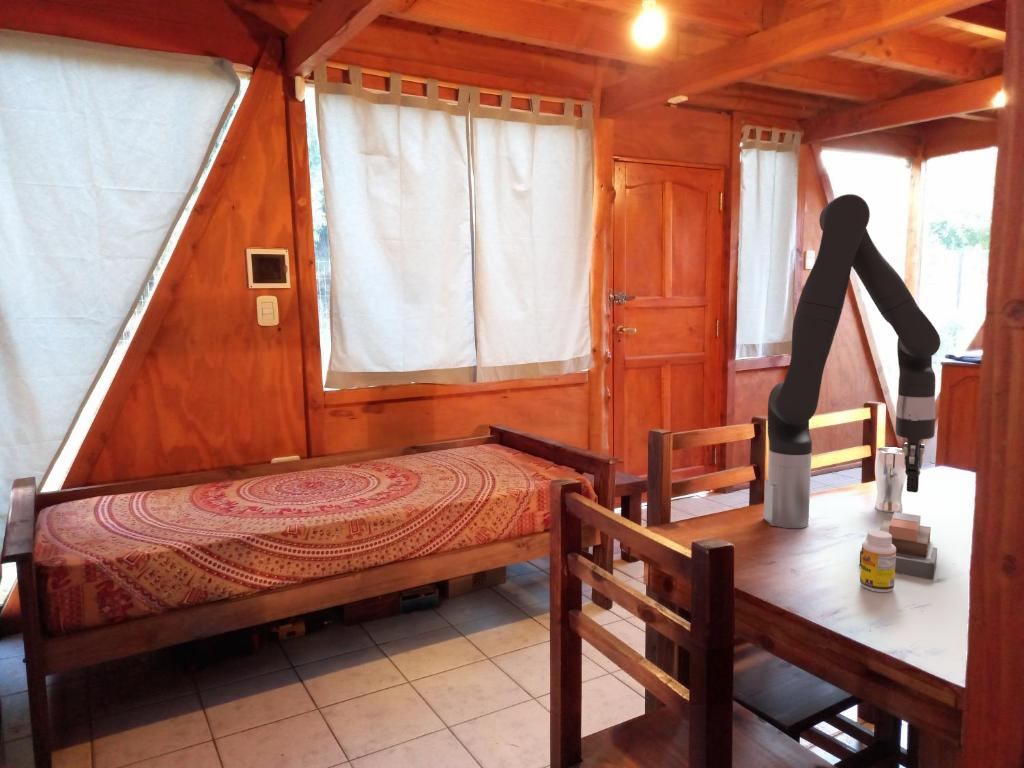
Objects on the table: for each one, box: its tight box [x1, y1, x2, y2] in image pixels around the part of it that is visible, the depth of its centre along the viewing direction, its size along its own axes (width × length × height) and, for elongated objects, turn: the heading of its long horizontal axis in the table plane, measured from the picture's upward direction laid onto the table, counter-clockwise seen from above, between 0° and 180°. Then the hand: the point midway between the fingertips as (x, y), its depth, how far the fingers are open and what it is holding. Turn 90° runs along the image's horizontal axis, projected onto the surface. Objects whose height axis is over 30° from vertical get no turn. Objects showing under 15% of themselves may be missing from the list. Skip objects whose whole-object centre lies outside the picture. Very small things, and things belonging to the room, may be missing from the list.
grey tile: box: [891, 512, 921, 532], centre depth 151 cm, size 5×5×2 cm
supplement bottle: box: [859, 529, 896, 593], centre depth 128 cm, size 6×6×10 cm
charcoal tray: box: [859, 536, 938, 580], centre depth 139 cm, size 10×13×3 cm
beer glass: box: [874, 446, 907, 514], centre depth 172 cm, size 7×7×15 cm
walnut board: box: [879, 519, 931, 558], centre depth 149 cm, size 12×9×3 cm
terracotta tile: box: [889, 518, 919, 541], centre depth 146 cm, size 5×5×2 cm
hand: (912, 491), depth 157 cm, fingers closed
